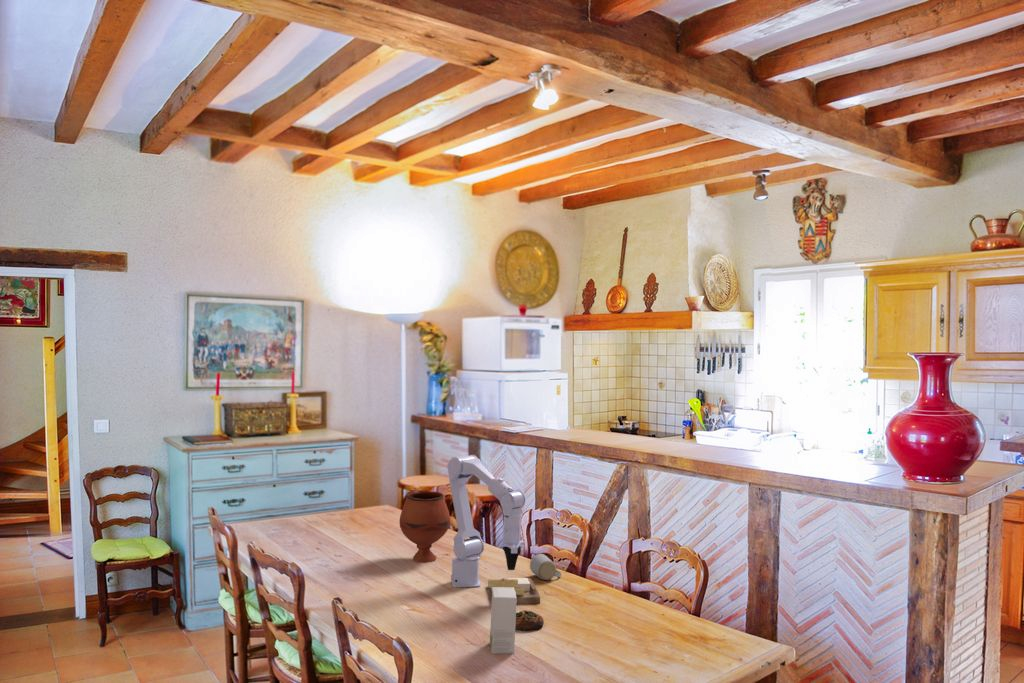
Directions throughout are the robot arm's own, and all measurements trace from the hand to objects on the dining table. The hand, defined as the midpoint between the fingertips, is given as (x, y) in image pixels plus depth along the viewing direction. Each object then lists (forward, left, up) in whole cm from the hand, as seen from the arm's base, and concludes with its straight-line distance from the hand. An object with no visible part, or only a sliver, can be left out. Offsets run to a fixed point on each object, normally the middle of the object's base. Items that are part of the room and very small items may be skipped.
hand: (511, 569), depth 250 cm
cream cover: (+3, +4, -7) cm, 9 cm away
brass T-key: (-2, -3, -7) cm, 8 cm away
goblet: (-28, +46, -10) cm, 54 cm away
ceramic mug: (+16, +22, -10) cm, 28 cm away
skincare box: (-7, -40, -10) cm, 42 cm away
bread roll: (+2, -23, -10) cm, 25 cm away
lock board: (+2, +4, -9) cm, 10 cm away
